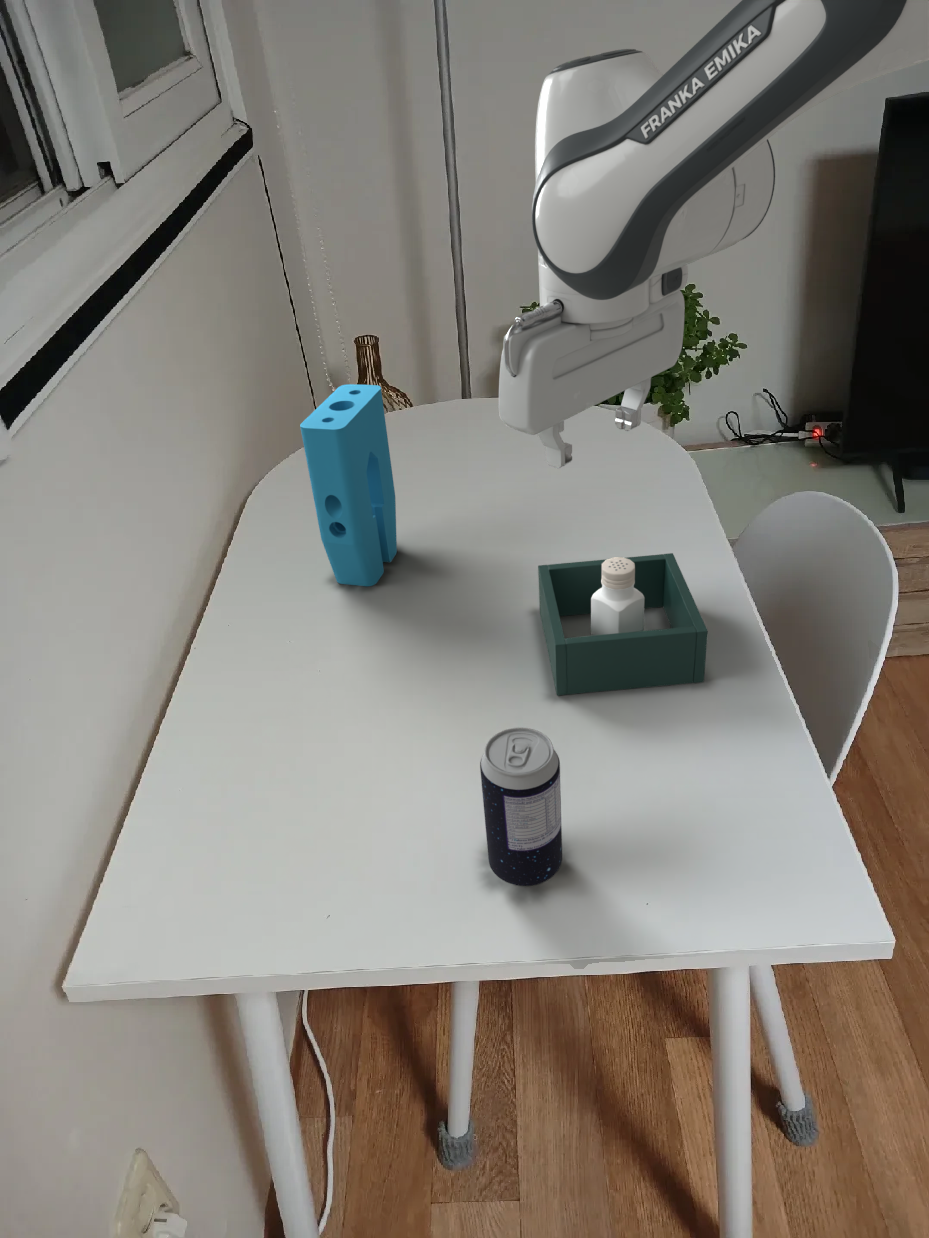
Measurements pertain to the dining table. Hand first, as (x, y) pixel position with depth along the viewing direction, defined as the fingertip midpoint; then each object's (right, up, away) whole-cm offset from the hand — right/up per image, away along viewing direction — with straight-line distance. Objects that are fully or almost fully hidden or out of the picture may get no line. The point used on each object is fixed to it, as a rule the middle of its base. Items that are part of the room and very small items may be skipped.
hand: (594, 445), depth 84 cm
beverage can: (-7, -35, -10) cm, 37 cm away
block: (-23, -9, +29) cm, 38 cm away
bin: (+4, -18, +12) cm, 22 cm away
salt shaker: (+4, -18, +12) cm, 22 cm away
